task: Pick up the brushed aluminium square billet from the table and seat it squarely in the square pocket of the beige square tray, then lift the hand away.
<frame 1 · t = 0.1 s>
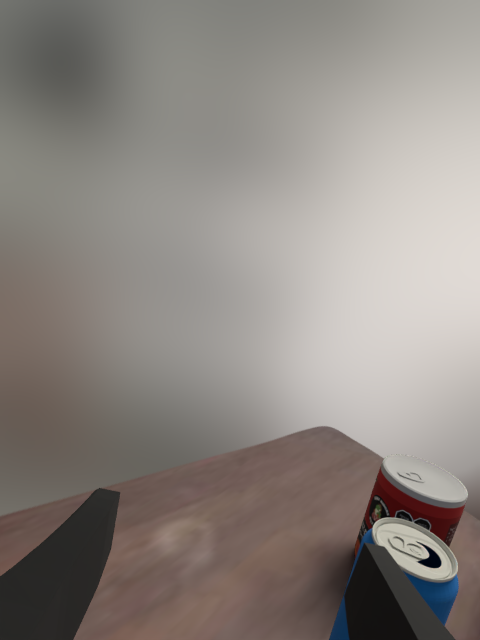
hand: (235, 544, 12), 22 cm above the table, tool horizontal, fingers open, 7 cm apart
canned food: (390, 571, 44), on the table
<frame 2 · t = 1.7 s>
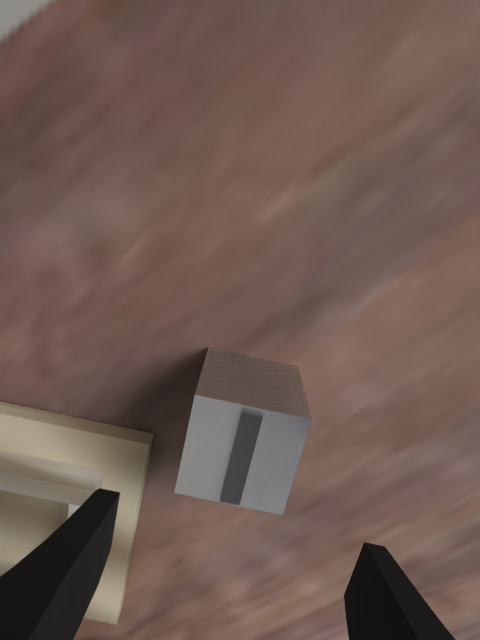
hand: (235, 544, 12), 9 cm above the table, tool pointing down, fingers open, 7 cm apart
beige square tray: (27, 505, 23), on the table
billet: (243, 397, 21), on the table
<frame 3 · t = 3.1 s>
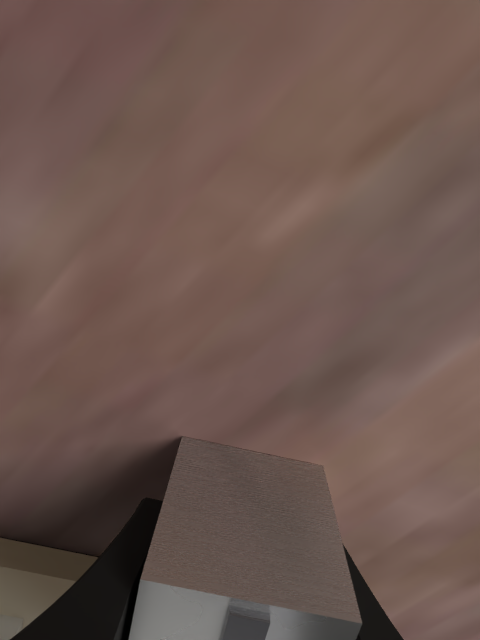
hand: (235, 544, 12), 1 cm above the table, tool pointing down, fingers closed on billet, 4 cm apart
billet: (237, 509, 14), on the table, touching gripper
when the fingers open (3 cm above the table, at t = 8.7 s): billet stays where it is, resting on beige square tray.
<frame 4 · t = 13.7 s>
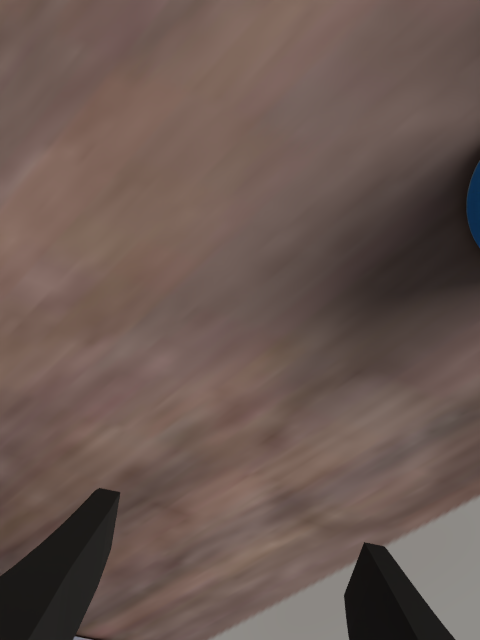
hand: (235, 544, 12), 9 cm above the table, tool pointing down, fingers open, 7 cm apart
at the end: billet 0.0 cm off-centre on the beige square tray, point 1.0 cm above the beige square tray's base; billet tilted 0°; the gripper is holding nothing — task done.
